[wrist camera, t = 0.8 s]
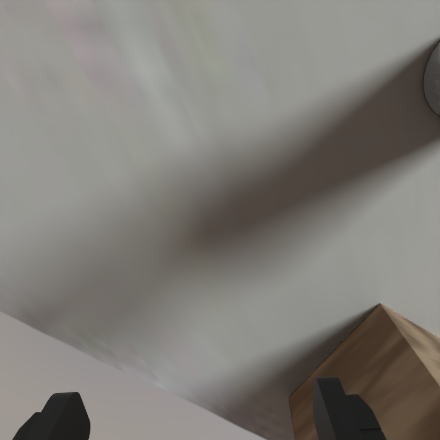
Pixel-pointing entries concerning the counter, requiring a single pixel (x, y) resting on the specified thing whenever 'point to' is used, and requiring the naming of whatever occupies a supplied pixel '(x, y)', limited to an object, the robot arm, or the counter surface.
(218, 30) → the counter surface
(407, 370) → the stand
